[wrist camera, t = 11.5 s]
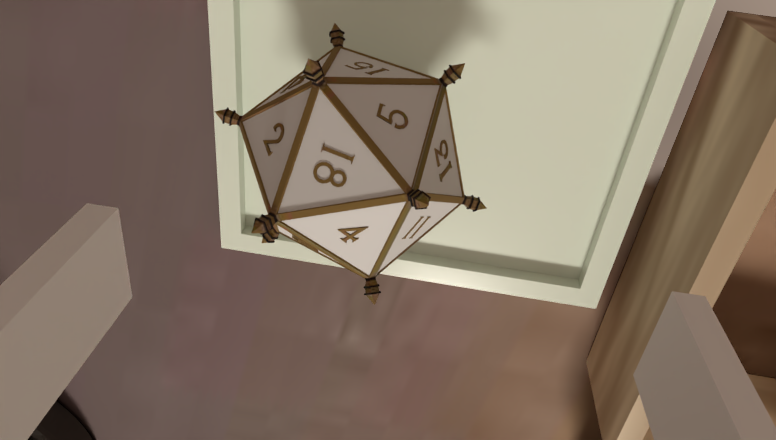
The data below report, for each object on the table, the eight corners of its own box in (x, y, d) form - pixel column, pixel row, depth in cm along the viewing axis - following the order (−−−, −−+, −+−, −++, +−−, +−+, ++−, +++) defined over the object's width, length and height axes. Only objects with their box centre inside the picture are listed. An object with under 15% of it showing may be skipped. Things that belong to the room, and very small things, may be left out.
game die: (505, 236, 25) (364, 399, 18) (344, 166, 29) (177, 282, 22) (552, 25, 20) (375, 150, 13) (346, -29, 23) (123, 47, 17)
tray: (230, 234, 30) (221, 247, 29) (211, -170, 21) (197, -171, 20) (591, 292, 29) (595, 308, 28) (740, -103, 20) (754, -99, 19)
